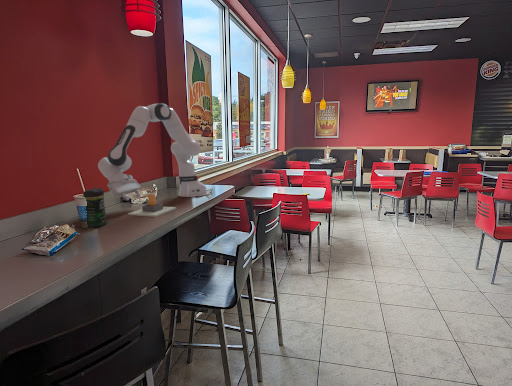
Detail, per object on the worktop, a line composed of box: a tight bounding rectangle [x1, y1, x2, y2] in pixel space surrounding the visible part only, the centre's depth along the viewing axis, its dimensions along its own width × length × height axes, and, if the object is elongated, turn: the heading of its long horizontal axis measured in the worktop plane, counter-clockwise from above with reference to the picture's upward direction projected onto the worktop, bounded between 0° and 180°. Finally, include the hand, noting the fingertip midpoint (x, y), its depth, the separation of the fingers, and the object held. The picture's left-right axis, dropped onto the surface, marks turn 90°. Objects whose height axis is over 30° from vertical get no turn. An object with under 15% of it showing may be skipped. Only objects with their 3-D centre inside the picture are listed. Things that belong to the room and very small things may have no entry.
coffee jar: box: [82, 187, 108, 229], centre depth 165 cm, size 10×8×19 cm
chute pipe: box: [147, 193, 157, 206], centre depth 192 cm, size 4×4×9 cm
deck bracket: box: [127, 203, 177, 218], centre depth 192 cm, size 18×20×4 cm
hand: (134, 197), depth 196 cm, fingers open, 8 cm apart
